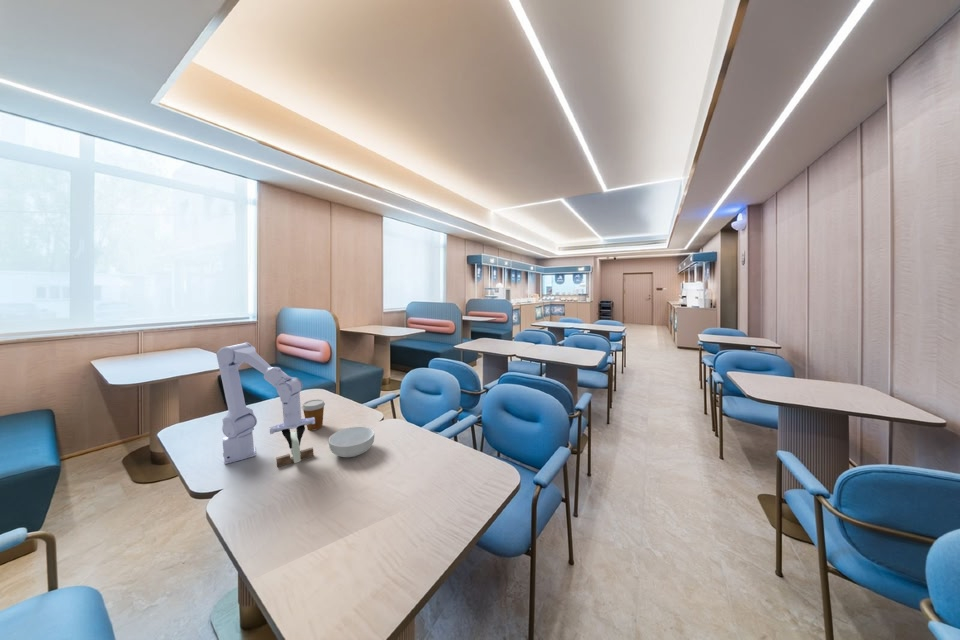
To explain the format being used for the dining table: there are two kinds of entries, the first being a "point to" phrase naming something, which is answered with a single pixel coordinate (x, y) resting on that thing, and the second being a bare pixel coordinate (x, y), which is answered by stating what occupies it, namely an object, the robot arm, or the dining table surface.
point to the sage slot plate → (295, 447)
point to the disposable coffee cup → (314, 413)
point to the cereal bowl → (351, 441)
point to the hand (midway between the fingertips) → (294, 446)
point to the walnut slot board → (287, 459)
